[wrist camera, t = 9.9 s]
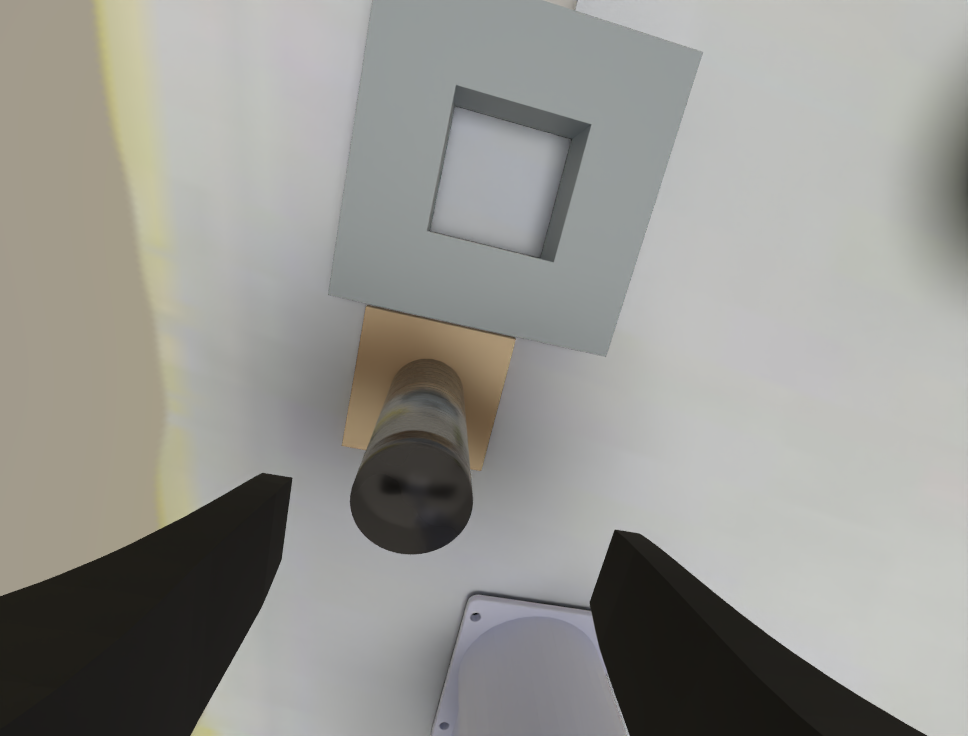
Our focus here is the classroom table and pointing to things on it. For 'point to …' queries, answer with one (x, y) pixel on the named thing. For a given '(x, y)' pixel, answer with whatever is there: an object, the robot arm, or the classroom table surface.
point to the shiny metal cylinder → (416, 463)
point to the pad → (412, 338)
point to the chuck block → (523, 100)
